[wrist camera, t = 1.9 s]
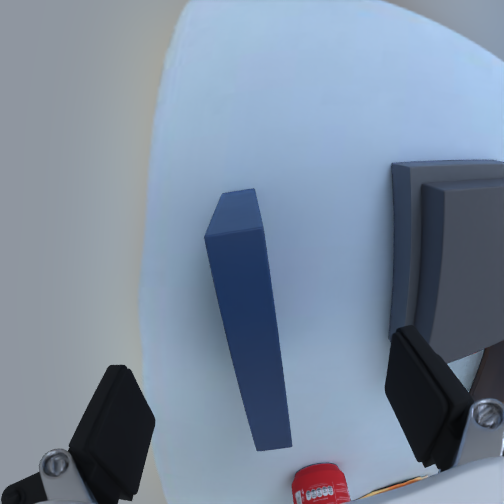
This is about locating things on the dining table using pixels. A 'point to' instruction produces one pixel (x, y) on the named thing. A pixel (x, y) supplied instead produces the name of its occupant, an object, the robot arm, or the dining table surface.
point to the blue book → (249, 314)
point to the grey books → (449, 253)
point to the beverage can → (320, 485)
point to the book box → (490, 375)
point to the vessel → (394, 486)
